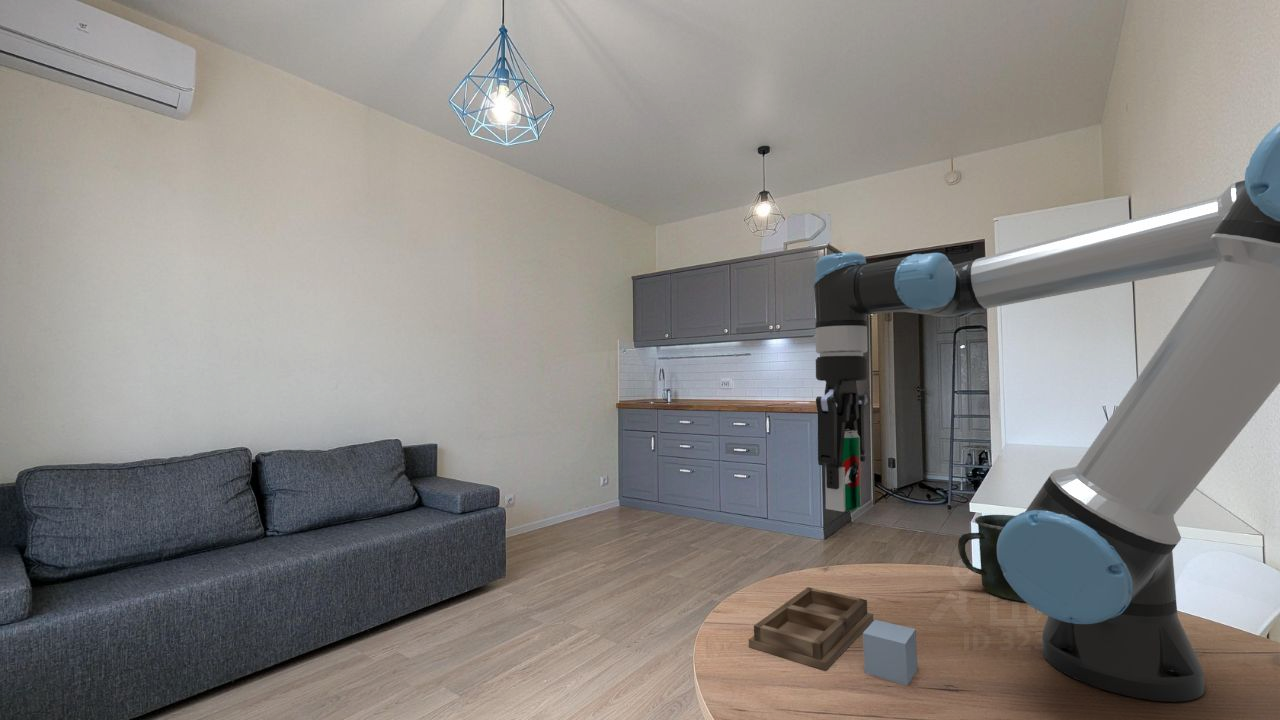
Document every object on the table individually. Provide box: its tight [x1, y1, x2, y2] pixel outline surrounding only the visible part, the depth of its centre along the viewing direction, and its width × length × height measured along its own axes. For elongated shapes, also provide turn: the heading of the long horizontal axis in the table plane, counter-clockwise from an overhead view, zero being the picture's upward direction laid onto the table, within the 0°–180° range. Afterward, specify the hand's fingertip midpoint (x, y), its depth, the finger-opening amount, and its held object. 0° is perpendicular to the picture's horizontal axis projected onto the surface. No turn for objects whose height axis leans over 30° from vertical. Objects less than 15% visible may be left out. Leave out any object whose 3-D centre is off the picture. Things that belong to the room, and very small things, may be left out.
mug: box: [957, 514, 1025, 602], centre depth 94 cm, size 11×15×12 cm
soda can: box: [841, 429, 862, 512], centre depth 84 cm, size 5×5×12 cm
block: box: [862, 619, 919, 687], centre depth 69 cm, size 5×5×5 cm
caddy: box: [748, 586, 874, 672], centre depth 81 cm, size 11×19×3 cm, turn 140°
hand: (843, 505), depth 84 cm, fingers closed on soda can, 5 cm apart
